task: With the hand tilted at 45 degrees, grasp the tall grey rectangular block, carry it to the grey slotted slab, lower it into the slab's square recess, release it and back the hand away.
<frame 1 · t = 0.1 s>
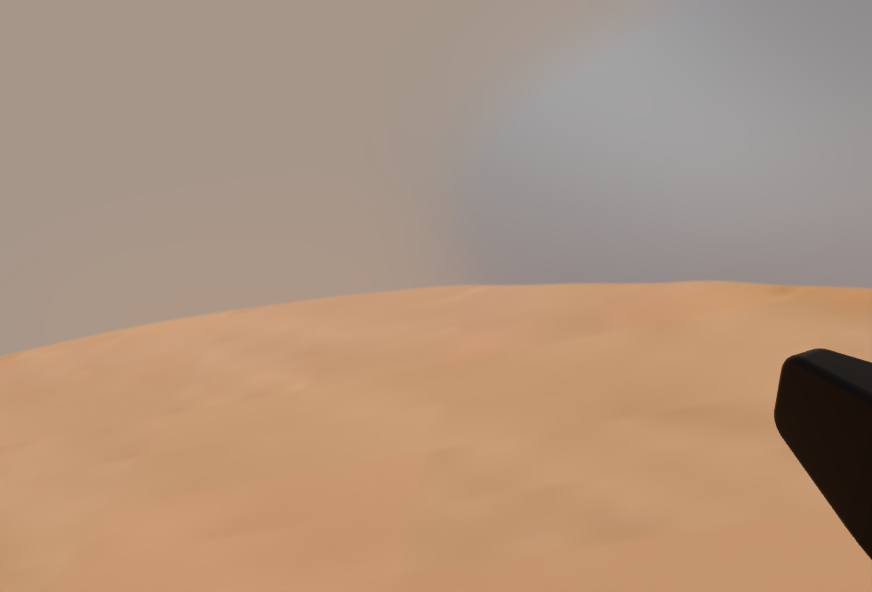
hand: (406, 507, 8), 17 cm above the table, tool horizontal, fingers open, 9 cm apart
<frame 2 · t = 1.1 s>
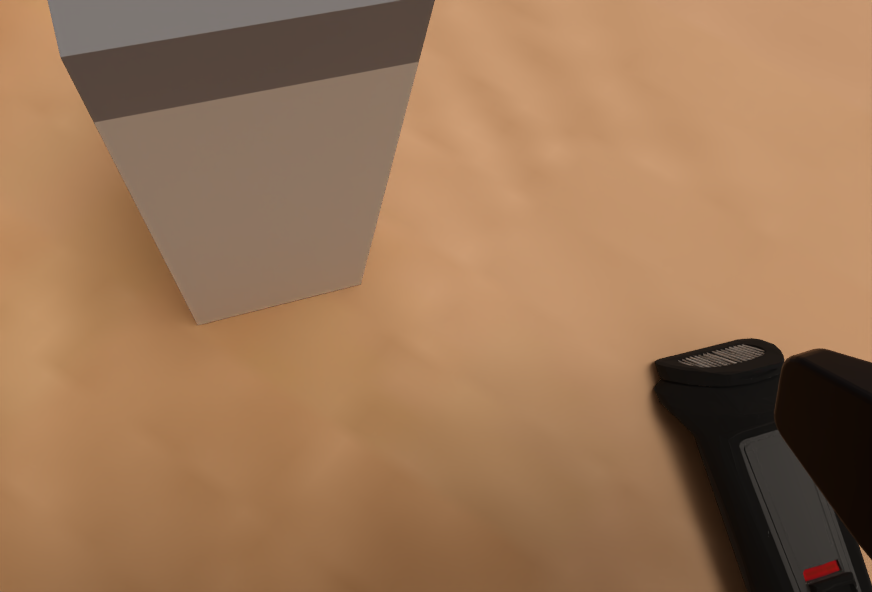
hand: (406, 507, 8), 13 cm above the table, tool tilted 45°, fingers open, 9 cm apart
grey rectangular block: (260, 228, 22), on the table
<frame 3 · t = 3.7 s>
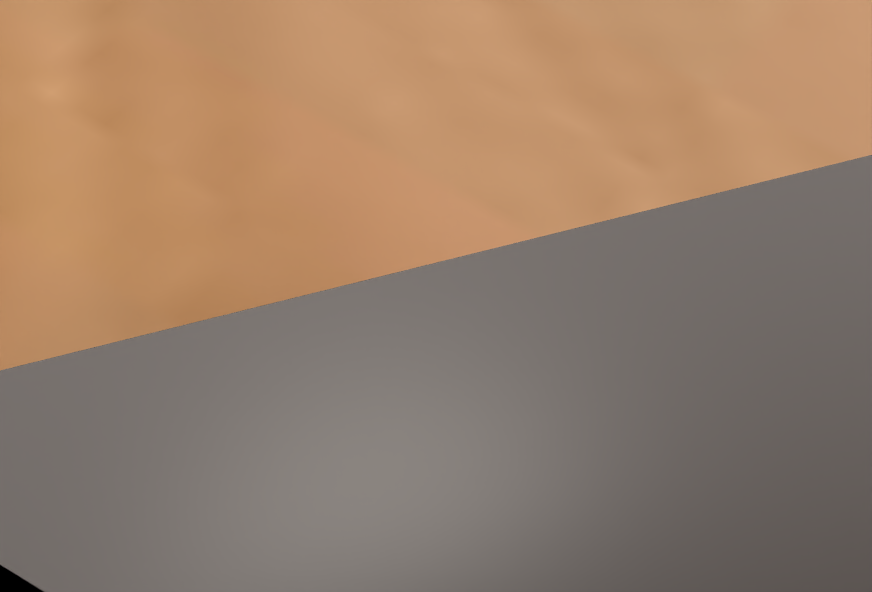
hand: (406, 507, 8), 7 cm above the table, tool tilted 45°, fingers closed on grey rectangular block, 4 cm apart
grey rectangular block: (379, 590, 14), on the table, touching gripper
when the fingers open (9 cm above the table, at t = 7.9 s): grey rectangular block drops 2 cm, resting on grey slotted slab.
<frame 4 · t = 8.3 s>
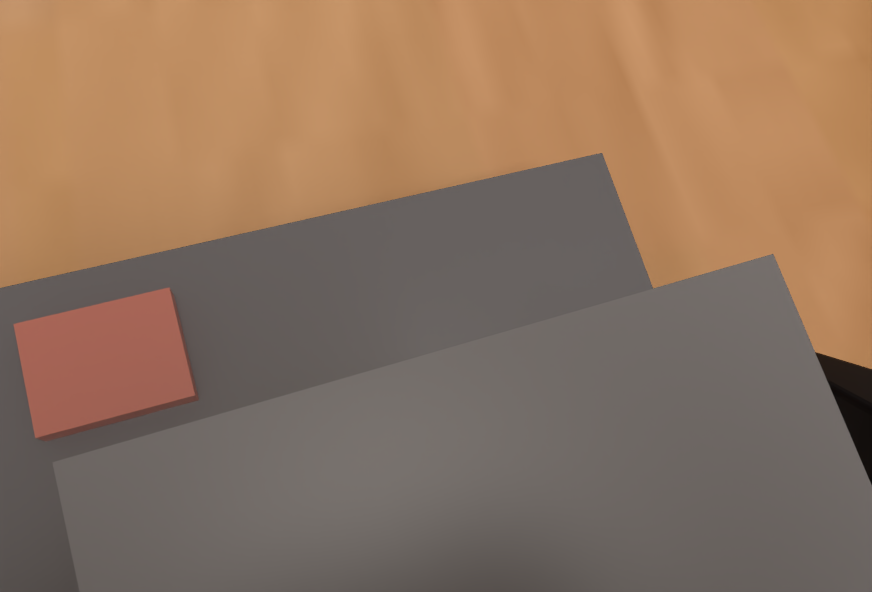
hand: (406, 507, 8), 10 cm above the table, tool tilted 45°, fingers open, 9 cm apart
grey slotted slab: (365, 578, 17), on the table
grey rectangular block: (369, 575, 16), point 1 cm above the table, touching grey slotted slab
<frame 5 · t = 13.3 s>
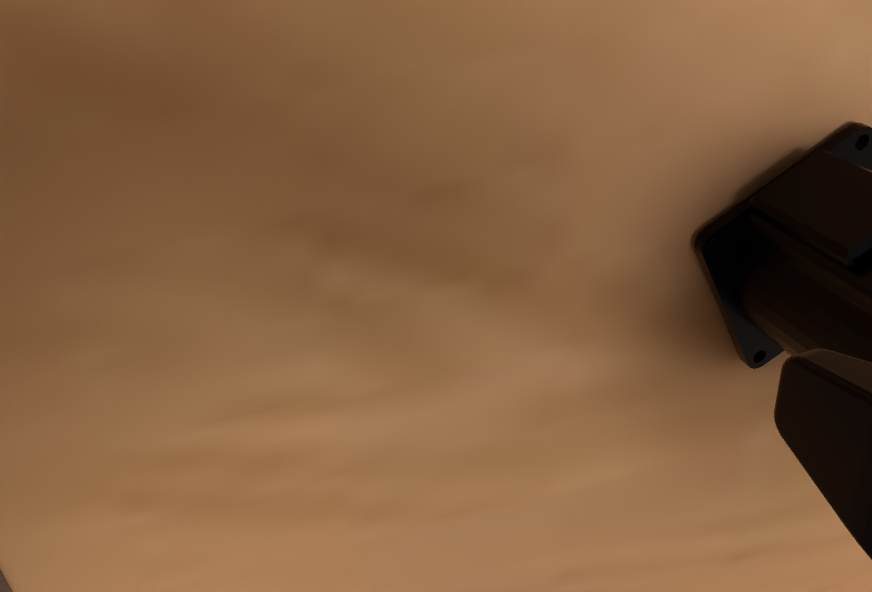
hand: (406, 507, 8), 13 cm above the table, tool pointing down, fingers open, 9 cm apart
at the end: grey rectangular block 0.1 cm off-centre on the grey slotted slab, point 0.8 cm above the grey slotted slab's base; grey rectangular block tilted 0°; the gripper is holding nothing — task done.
